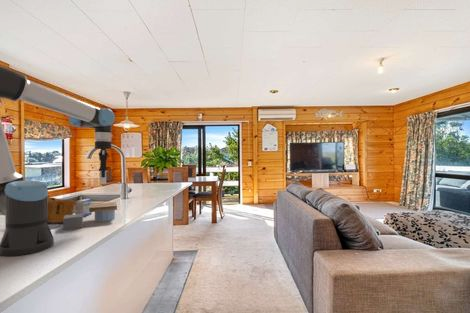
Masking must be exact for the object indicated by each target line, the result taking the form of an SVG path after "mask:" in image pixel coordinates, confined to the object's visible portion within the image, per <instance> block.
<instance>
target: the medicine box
mask: <svg viewBox="0 0 470 313" xmlns="http://www.w3.org/2000/svg"><path fill="white" fill-rule="evenodd" d="M76 201H77V202H76V204H75V206H74V208H75V209H74V210H75V211H74V212H75V213H74V215H75V214H83V218H86V217H88V216H90V215H92V213H93V212H89V208H90V204H93V203H92V198H83V199H80V200H76Z"/></svg>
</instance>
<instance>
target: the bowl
mask: <svg viewBox="0 0 470 313" xmlns="http://www.w3.org/2000/svg"><path fill="white" fill-rule="evenodd" d="M115 211H116V210H110V211H98V212H94V222H110V221H113V220H115V219H116V218H115V217H116V216H115Z"/></svg>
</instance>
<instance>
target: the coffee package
mask: <svg viewBox="0 0 470 313" xmlns="http://www.w3.org/2000/svg"><path fill="white" fill-rule="evenodd" d="M77 201H78V200H68V199H63V198H56V197H50V196H48V223H63V218H64V217H65V215H74V213H73V212H74V210H75V209H74V208H75V204H76V202H77Z"/></svg>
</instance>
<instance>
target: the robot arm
mask: <svg viewBox="0 0 470 313" xmlns="http://www.w3.org/2000/svg"><path fill="white" fill-rule="evenodd" d="M1 99H7V100H10V101H13V102H17V101H22V102H25V103H29V104H31V105H35V106H38V107H41V108H44V109H47V110H49V111H53V112H55V113H59V114H62V115H65V116H68V123H69V125H71V126H72V127H77V128H87V129H94V149H97V150H100V151H99V152H98V157H99V161H100V163H99V165H100V166H99V168H98V171H99V185H107V169H108V167H107V160H108V156H109V155H108V154H109V153H108V152H107V150H111V149H112V137H114V135H113V134H112V127H113V124H114V123H115V120H116V117H115V114H114V112H113V110H111V109H110V108H105V107H104V108H99V107H97V106H94V105H92V104H89V103H87V102H84V101H82V100H79V99H78V98H74V97H72V96H69V95H68V94H67V95H66V94H64V93H61V92H60V91H57V90H55V89H52V88H50V87H46V86H45V85H44V86H43V85H41V84H39V83H37V82H35V81H31V80H29V79H28V78H27V76H26V75H24V74H22V73H19V72H16V71H15V70H13V69H9V68H7V67H5V66H2V65H0V107H1V106H2V100H1ZM48 197H49V191H48V185H47V184H46V183H45V182H43V181H38V180H25V178H24V175H23V174H21V173H19V172H17V170H16V166H15V163H14V159H13V156H12V153H11V149H10V147H9V142H8V139H7V135H6V132H5V128H4V126H3V122H2V119H1V117H0V215H4V216H5V217H4V218H5V223H4V224H5V230H4V232H3V234H2V237H1V240H0V256H3V257H4V256H5V257H16V256H23V255H24V256H25V255H30V254H34V253H39V252H43V251H45V250H47V249H49V248H51V247H52V246H54V244H55V243H54V240H55V238H54V235H53V233H52V231H51V228H50V226H49V222H48Z"/></svg>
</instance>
